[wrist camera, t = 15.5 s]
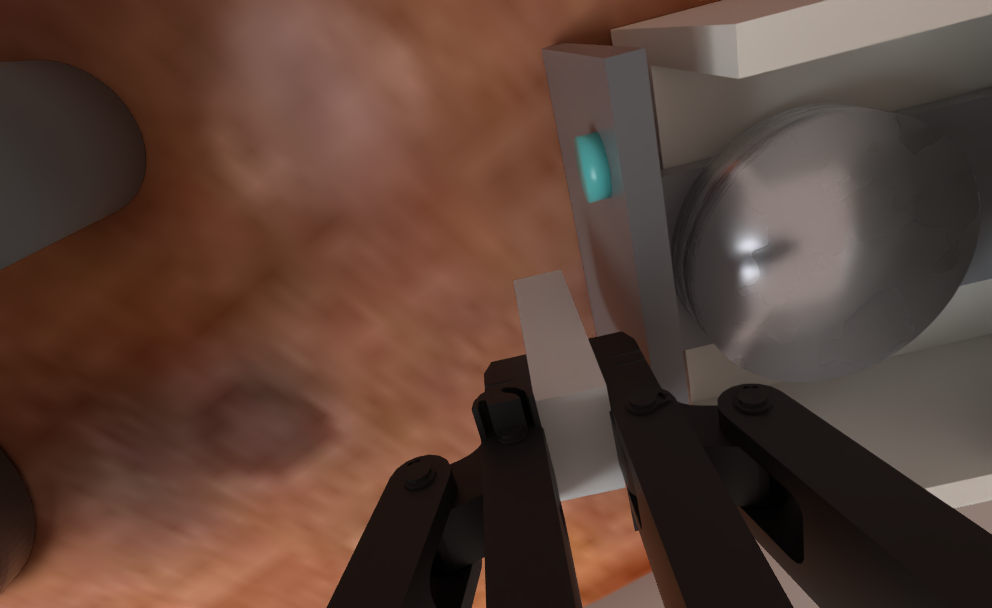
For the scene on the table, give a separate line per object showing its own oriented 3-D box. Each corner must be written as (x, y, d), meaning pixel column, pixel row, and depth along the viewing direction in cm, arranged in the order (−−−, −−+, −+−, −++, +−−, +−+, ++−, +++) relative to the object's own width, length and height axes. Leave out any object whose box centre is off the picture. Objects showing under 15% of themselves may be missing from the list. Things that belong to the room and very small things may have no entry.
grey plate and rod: (594, 385, 26) (664, 570, 17) (527, 52, 20) (578, 64, 11) (1004, 290, 25) (1307, 432, 16) (1054, -87, 20) (1570, -194, 10)
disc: (684, 374, 20) (706, 407, 18) (656, 142, 17) (679, 155, 15) (920, 320, 20) (966, 348, 18) (938, 71, 16) (996, 76, 15)
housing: (658, 363, 27) (785, 577, 16) (610, 29, 21) (759, 22, 10) (1067, 268, 26) (1486, 428, 15) (1136, -110, 20) (1890, -273, 9)
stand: (35, 233, 23) (-100, 296, 17) (-55, 83, 20) (-244, 99, 15) (172, 198, 22) (79, 250, 17) (97, 41, 20) (-40, 43, 15)
